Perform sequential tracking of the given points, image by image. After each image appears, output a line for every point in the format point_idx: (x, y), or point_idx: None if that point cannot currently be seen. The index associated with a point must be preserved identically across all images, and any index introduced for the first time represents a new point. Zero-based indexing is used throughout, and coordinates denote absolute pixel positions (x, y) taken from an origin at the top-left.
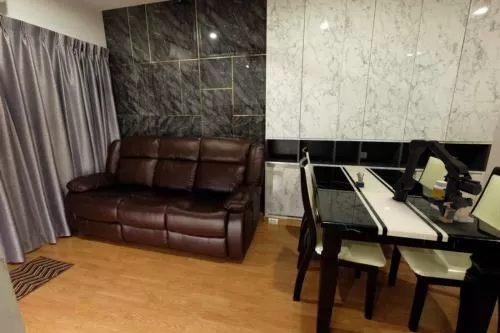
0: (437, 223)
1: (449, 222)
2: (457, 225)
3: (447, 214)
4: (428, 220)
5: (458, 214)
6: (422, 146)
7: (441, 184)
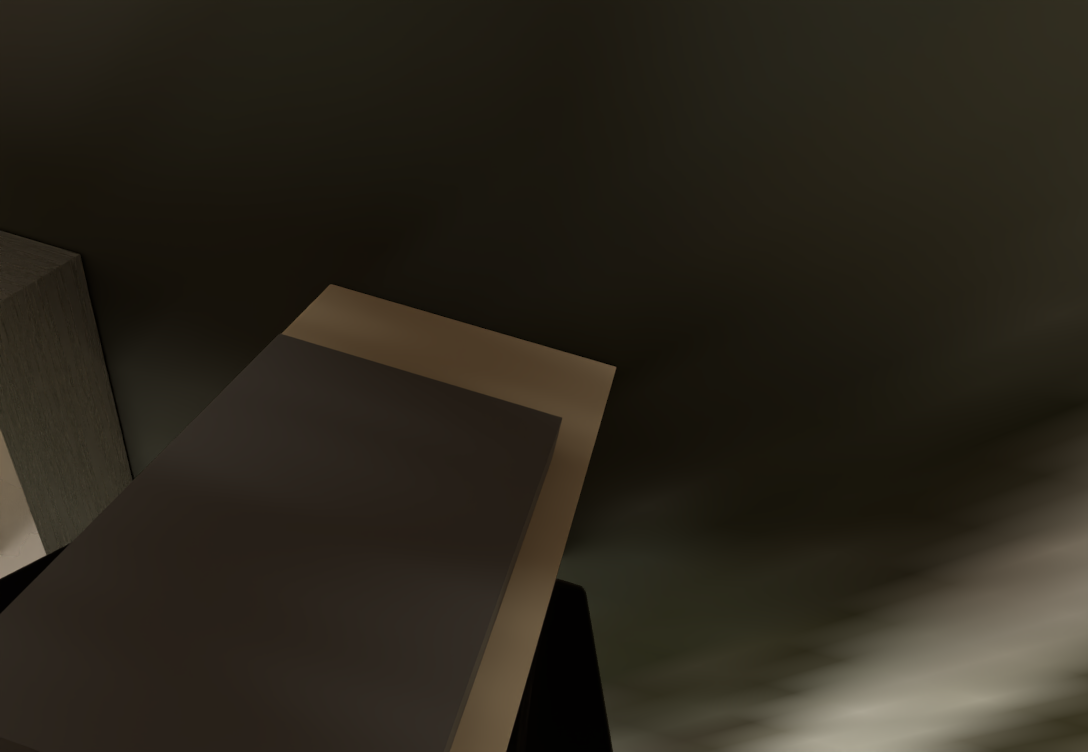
0: (1031, 381)
1: (428, 315)
2: (313, 51)
3: (486, 647)
4: (1074, 606)
5: None
6: None
7: None
